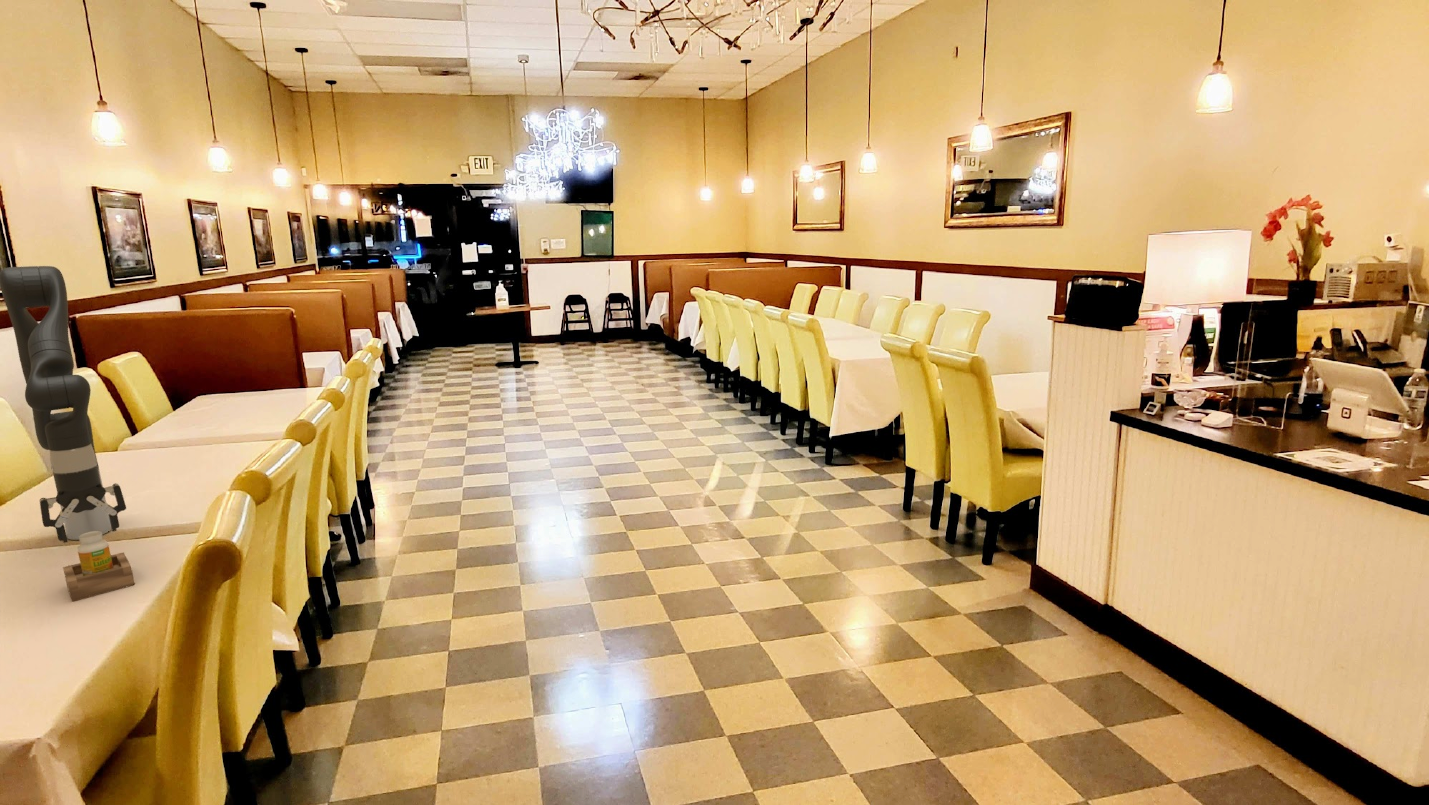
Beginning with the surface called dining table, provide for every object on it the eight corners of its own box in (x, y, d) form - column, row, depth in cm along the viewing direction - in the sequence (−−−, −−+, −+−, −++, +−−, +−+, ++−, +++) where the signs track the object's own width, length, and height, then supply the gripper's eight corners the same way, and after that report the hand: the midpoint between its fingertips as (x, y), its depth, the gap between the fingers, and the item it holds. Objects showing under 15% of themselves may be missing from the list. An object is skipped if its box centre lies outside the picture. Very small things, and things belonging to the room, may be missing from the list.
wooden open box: (67, 585, 171) (62, 567, 170) (127, 570, 179) (123, 552, 178) (72, 601, 164) (67, 582, 163) (134, 584, 171) (131, 566, 170)
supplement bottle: (96, 580, 168) (87, 539, 165) (77, 579, 169) (68, 538, 167) (120, 570, 173) (111, 530, 171) (101, 568, 174) (92, 529, 172)
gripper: (113, 455, 172) (127, 522, 176) (30, 470, 163) (46, 540, 166) (118, 462, 167) (132, 531, 171) (32, 478, 157) (49, 550, 161)
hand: (90, 535), depth 169 cm, fingers open, 8 cm apart
